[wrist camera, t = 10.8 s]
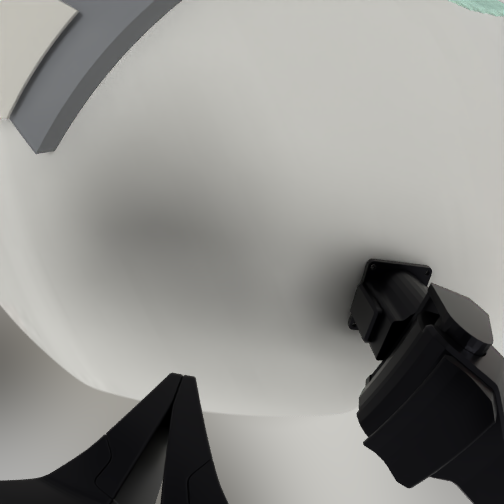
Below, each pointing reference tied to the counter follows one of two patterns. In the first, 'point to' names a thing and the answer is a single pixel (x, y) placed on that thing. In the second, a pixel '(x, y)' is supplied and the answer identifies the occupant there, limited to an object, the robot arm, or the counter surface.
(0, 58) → the white square panel
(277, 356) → the counter surface
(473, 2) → the cloth
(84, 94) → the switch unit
